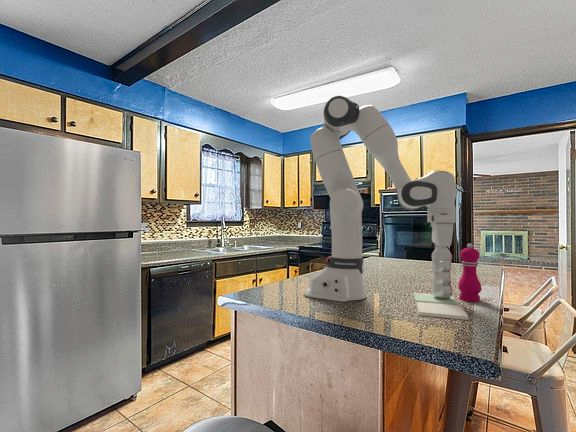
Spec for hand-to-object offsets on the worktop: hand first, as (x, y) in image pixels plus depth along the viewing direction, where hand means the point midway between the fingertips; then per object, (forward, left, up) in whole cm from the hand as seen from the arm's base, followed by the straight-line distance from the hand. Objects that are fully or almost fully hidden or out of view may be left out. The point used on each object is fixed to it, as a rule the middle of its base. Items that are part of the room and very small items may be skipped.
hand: (440, 257), depth 109 cm
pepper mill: (+10, +6, -15) cm, 19 cm away
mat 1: (-2, 0, -15) cm, 15 cm away
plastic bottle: (+1, 0, -14) cm, 14 cm away
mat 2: (-2, -14, -15) cm, 21 cm away
